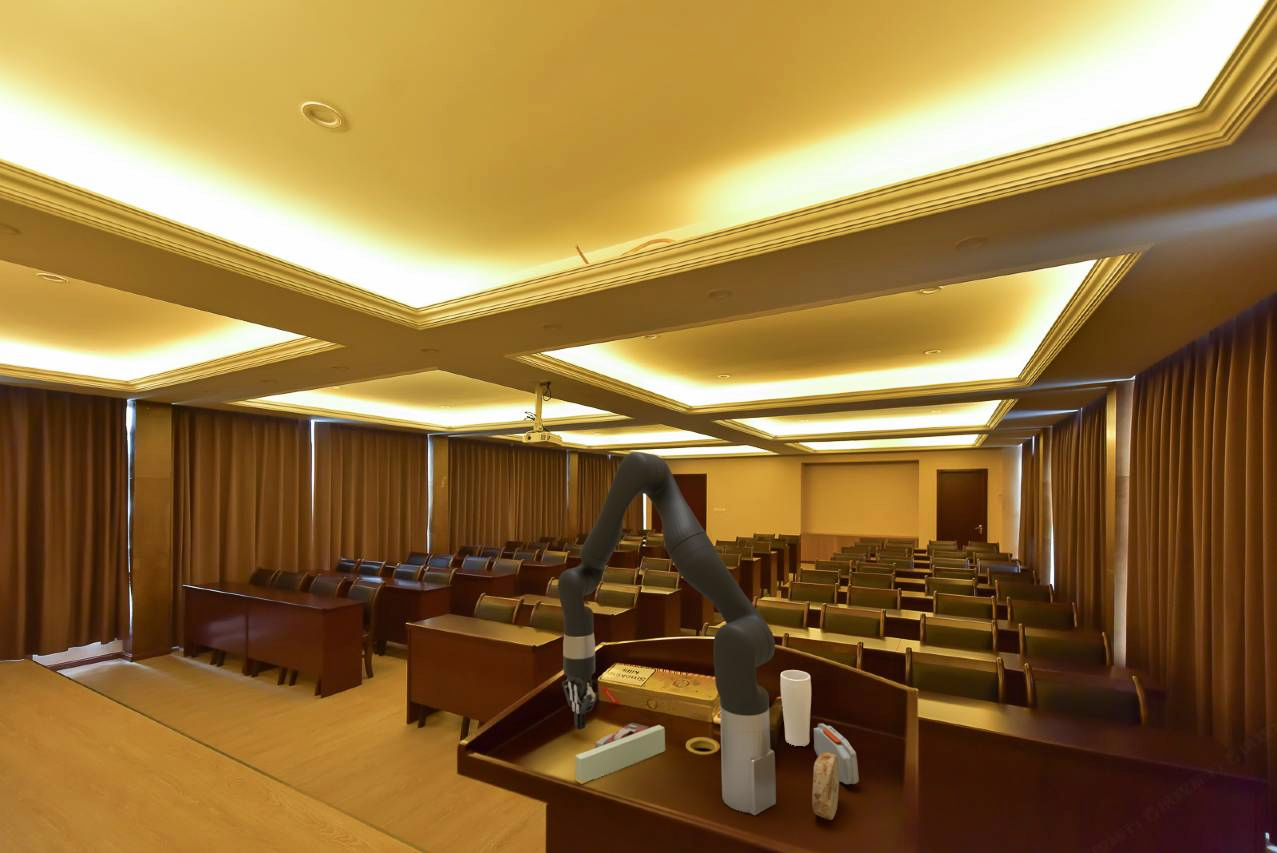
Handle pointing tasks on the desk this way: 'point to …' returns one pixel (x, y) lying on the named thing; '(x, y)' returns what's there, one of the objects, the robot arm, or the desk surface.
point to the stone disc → (825, 786)
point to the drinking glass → (796, 706)
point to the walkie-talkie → (621, 734)
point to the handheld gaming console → (837, 752)
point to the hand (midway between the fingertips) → (579, 727)
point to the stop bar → (619, 753)
